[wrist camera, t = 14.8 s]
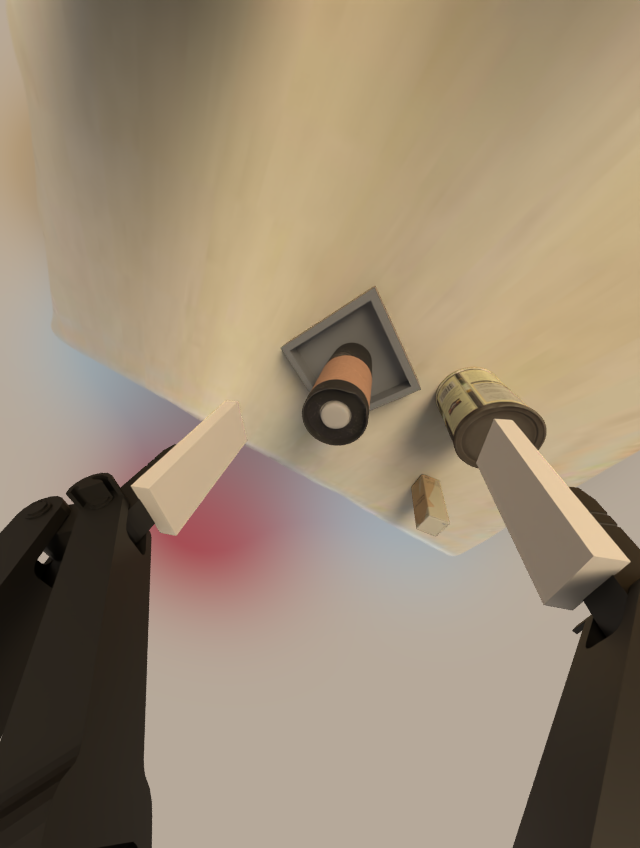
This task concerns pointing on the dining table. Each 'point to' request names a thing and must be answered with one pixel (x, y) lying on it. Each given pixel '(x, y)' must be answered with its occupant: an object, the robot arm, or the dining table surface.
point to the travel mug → (340, 397)
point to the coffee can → (482, 411)
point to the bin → (362, 326)
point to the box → (429, 506)
